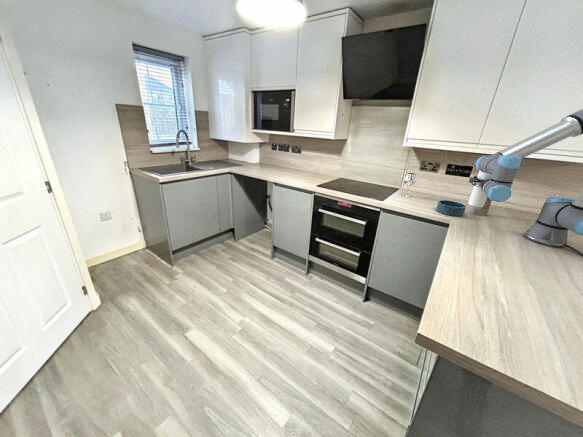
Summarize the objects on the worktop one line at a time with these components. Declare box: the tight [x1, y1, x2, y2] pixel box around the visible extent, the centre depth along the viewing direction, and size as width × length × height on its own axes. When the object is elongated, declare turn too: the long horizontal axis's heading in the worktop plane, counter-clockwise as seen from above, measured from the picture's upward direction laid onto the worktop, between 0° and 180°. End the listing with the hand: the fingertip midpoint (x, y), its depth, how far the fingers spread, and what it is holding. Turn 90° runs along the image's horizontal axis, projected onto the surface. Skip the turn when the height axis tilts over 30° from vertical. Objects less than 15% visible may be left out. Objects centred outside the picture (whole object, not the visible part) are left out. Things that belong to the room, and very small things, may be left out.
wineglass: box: [401, 172, 417, 198], centre depth 185 cm, size 8×8×18 cm
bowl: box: [435, 199, 467, 217], centre depth 154 cm, size 16×16×6 cm
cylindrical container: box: [467, 170, 492, 207], centre depth 128 cm, size 7×7×25 cm
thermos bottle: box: [471, 196, 493, 217], centre depth 150 cm, size 8×8×28 cm
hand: (482, 178), depth 132 cm, fingers closed on cylindrical container, 7 cm apart
